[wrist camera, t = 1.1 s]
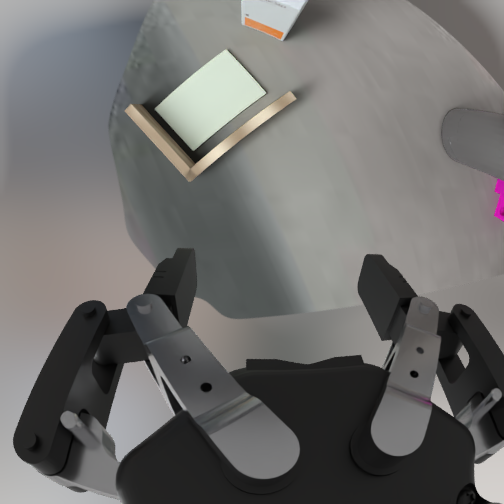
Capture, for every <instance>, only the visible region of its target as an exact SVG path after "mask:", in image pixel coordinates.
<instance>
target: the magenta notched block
mask: <svg viewBox="0 0 504 504" xmlns="http://www.w3.org/2000/svg"><path fill="white" fill-rule="evenodd" d="M495 192H497V193H499V194H500V197H499V201H498V204H497V208H496V211H495V214H494V216H496V217H497V218H499V219H500V220H502V221H504V181H502V180H500V179H498V180H497V184H496V188H495Z"/></svg>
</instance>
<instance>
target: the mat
mask: <svg viewBox="0 0 504 504" xmlns="http://www.w3.org/2000/svg"><path fill="white" fill-rule="evenodd" d="M265 94H266V92H265V91H264V90H263V89H262V87H261V86H260V85H259V84H258V83H257V82H256V81H255V79H254V78H253V77H252V76H251V75H250V74H249V73H248V72H247V71H246V70H245V68H244V67H243V66H242V65H241V64H240V63H239V62H238V61H237V60H236V59H235V58H234V57H233V56H232V55H231V54H230V53H229V52H228V51H227V50H224V51H223V52H222V53H220V54H219V55H218V56H216V57H215V58H214V59H212V60H211V61H210V62H208V63H207V64H206V65H204V66H203V67H202V68H201V69H199V70H198V71H197V72H196V73H194V74H193V75H192V76H191V77H190V78H188V79H187V80H186V81H185V82H184V83H182V84H181V85H180V86H179V87H178V88H177V89H176V90H174V91H173V92H172V93H171V94H170V95H169V96H168V97H167V98H166V99H165V100H163V101H162V102H161V103H160V104H159V105H158V106H157V107H156V108H155V110H156V111H157V112H158V113H159V114H160V115H161V117H162V118H163V119H164V120H165V121H166V122H167V123H168V124H169V125H170V126H171V127H172V128H173V130H174V131H175V132H176V133H177V134H178V135H179V136H180V137H181V138H182V139H183V141H184V142H185V143H186V144H187V145H188V146H189V147H190V148H191V149H192V150H193V151H194V150H195V149H197V148H198V147H199V146H200V145H201V144H202V143H204V142H205V141H206V140H207V139H208V138H209V137H211V136H212V135H213V134H214V133H215V132H217V131H218V130H219V129H220V128H222V127H223V126H224V125H225V124H226V123H228V122H229V121H230V120H232V119H233V118H234V117H235V116H237V115H238V114H239V113H240V112H242V111H243V110H244V109H246V108H247V107H248V106H250V105H251V104H252V103H254V102H255V101H256V100H258V99H259V98H261V97H262V96H263V95H265Z"/></svg>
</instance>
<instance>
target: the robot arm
mask: <svg viewBox="0 0 504 504" xmlns="http://www.w3.org/2000/svg"><path fill="white" fill-rule="evenodd" d="M442 140H443V144H444V148H445V150H446V152H447V154H448V155H449V156H450V157H451V158H452V159H453V160H454V161H456V162H459V163H461V164H464V165H467V166H469V167H472V168H474V169H477V170H479V171H482V172H484V173H486V174H489V175H491V176H493V177H496V178H498V179H500V180H502V181H504V114H499V113H494V112H488V111H481V110H474V109H467V110H466V109H453V110H451V111H450V112H448V114H447V115H446V117H445V119H444V121H443V125H442ZM196 288H197V273H196V260H195V250H194V248H177V250H176V252H175V254H174V256H173V258H166V259H165V260H163V261H162V262H161V263H159V265H158V266H157V268H156V270H155V272H154V274H153V276H152V278H151V279H150V281H149V283H148V285H147V287H146V289H145V291H144V293H143V294H141V295H138V296H136V297H134V298H132V299H131V300H130V301H129V302H128V304H127V306H126V308H124V309H118V310H110V311H107V309H106V306H105V305H104V303H102V302H101V301H96V300H92V301H87V302H84V303H82V304H81V305H79V306H78V307H77V308H76V309H75V310H74V312H73V314H72V315H71V317H70V319H69V320H68V322H67V324H66V325H65V327H64V329H63V331H62V332H61V334H60V336H59V338H58V339H57V341H56V343H55V345H54V347H53V349H52V350H51V352H50V354H49V356H48V358H47V360H46V362H45V364H44V366H43V368H42V370H41V372H40V374H39V376H38V378H37V380H36V383H35V385H34V387H33V389H32V391H31V394H30V396H29V398H28V400H27V403H26V405H25V407H24V410H23V412H22V415H21V417H20V420H19V422H18V426H17V428H16V431H15V433H14V437H13V444H14V448H15V451H16V453H17V455H18V456H19V457H20V458H21V459H22V460H23V461H24V462H26V463H27V464H29V465H30V466H32V467H33V468H35V469H36V470H37V471H38V472H39V473H41V474H42V475H44V476H46V477H47V478H49V479H51V480H53V481H54V482H56V483H58V484H60V485H62V486H65V487H67V488H69V489H71V490H73V491H75V492H86V491H91V492H94V493H97V494H100V495H104V496H107V497H110V498H115V499H118V500H120V502H121V504H500V503H492V502H489V501H487V500H485V499H483V498H482V497H481V496H480V495H479V494H478V492H477V490H476V487H475V482H474V463H476V464H479V463H482V462H483V461H485V460H486V459H488V458H489V457H491V456H492V455H493V454H495V453H496V452H497V451H499V450H500V449H501V448H502V447H504V355H503V353H502V351H501V350H500V348H499V347H498V345H497V344H496V342H495V341H494V339H493V338H492V336H491V335H490V333H489V332H488V330H487V329H486V327H485V326H484V324H483V323H482V322H481V320H480V319H479V318H478V316H477V315H476V313H475V312H474V311H473V310H472V309H471V308H469V307H468V306H466V305H462V304H456V305H455V306H454V307H453V309H452V311H451V313H446V312H441V311H439V309H438V306H437V305H436V304H435V303H434V302H433V301H431V300H430V299H428V298H425V297H418V296H417V294H416V293H415V292H414V290H413V289H412V288H411V286H410V285H409V284H408V283H407V281H406V280H405V279H404V278H403V276H402V275H401V273H400V272H399V271H398V270H397V269H396V268H394V267H393V266H391V265H390V264H389V263H388V262H387V261H386V259H385V258H384V257H383V256H382V255H378V254H367V255H366V256H365V258H364V262H363V265H362V269H361V273H360V277H359V281H358V293H359V296H360V297H361V299H362V301H363V303H364V305H365V307H366V309H367V311H368V313H369V315H370V317H371V319H372V321H373V323H374V326H375V328H376V330H377V332H378V334H379V336H380V338H381V340H382V341H384V340H392V341H393V342H392V344H391V346H390V348H389V351H388V354H387V356H386V359H385V361H384V364H383V366H382V368H380V367H378V366H375V365H371V364H366V363H364V362H363V360H362V357H361V355H356V356H345V357H334V358H331V359H327V360H324V361H320V362H317V363H313V364H300V363H294V362H288V361H282V360H277V359H247V360H246V361H247V362H246V368H242V369H238V370H234V371H232V372H229V373H228V372H227V371H226V369H225V368H224V367H223V366H222V365H221V364H220V362H219V361H218V360H217V359H216V358H215V357H214V356H213V354H212V353H211V352H210V351H209V350H208V348H207V347H206V346H205V345H204V344H203V342H202V341H201V340H200V339H199V337H198V336H197V335H196V334H195V332H194V331H193V330H192V329H191V328H190V327H189V326H187V324H188V320H189V316H190V312H191V308H192V304H193V301H194V297H195V293H196ZM462 345H464V347H465V348H466V350H467V352H468V354H469V358H470V359H469V364H468V366H467V367H466V369H465V368H464V366H463V364H462V362H461V360H460V358H459V356H458V355H457V353H458V352H459V350H460V348H461V347H462ZM136 361H144V363H145V365H146V366H147V369H148V370H149V372H150V374H151V376H152V378H153V379H154V381H155V383H156V385H157V386H158V388H159V390H160V391H161V393H162V395H163V397H164V399H165V401H166V403H167V405H168V407H169V409H170V410H171V412H172V414H173V415H174V417H173V418H171V419H170V420H169V421H168V422H167V423H165V424H164V425H163V426H162V427H160V428H159V429H158V430H157V431H156V432H154V433H153V434H152V435H151V436H149V437H148V438H147V439H145V440H144V441H143V442H142V443H141V444H139V445H138V446H136V447H135V448H134V449H132V450H131V451H130V452H129V453H128V454H127V455H126V456H125V457H124V458H123V460H122V461H121V462H118V461H117V459H116V455H115V443H114V440H113V438H112V437H111V435H110V434H109V433H108V432H107V431H106V426H107V422H108V418H109V414H110V410H111V406H112V403H113V399H114V396H115V392H116V389H117V385H118V382H119V379H120V375H121V372H122V369H123V366H124V363H129V362H136ZM436 374H437V376H438V378H439V381H440V383H441V385H442V388H443V390H444V392H445V395H446V397H447V400H448V402H449V405H450V407H451V410H452V412H453V415H454V417H453V416H451V415H450V414H448V413H447V412H445V411H444V410H442V409H441V408H440V407H438V406H436V405H435V404H434V403H432V402H431V401H430V399H431V394H432V390H433V385H434V380H435V375H436Z"/></svg>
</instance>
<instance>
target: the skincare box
mask: <svg viewBox="0 0 504 504" xmlns="http://www.w3.org/2000/svg"><path fill="white" fill-rule="evenodd" d="M307 2H308V0H241V18H242V25H245V26H248V27H251V28H253V29H256V30H258V31H261V32H263V33H266V34H268V35H270V36H272V37H274V38H277V39H279V40H281V41H283V40H284V39H285V37H286V36H287V34H288V33H289V31H290V30H291V28H292V26H293V25H294V23H295V22H296V20H297V18H298V17H299V15H300V13H301V12H302V10H303V8H304V7H305V5H306V4H307Z"/></svg>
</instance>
